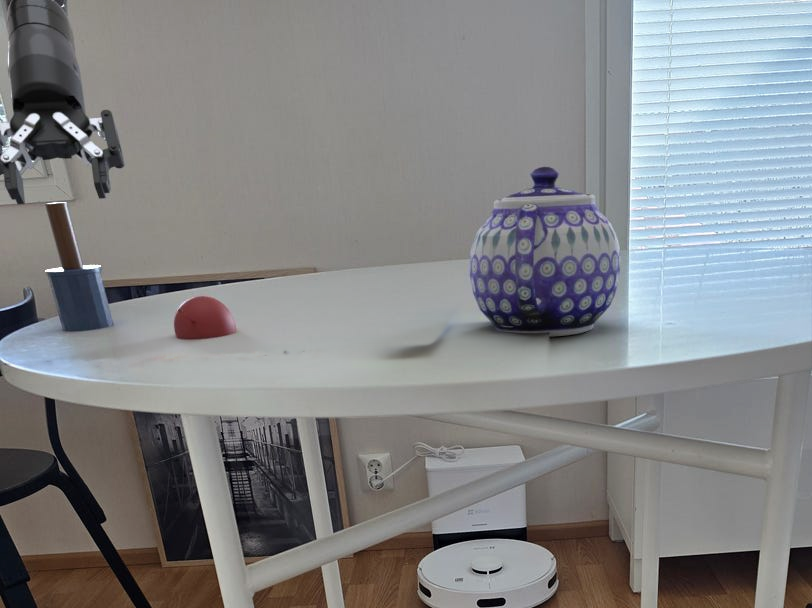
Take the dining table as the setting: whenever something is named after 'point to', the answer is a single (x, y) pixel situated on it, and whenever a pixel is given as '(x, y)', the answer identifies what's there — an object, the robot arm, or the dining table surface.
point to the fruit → (203, 319)
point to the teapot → (545, 260)
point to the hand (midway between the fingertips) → (59, 195)
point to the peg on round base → (66, 243)
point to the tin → (81, 302)
